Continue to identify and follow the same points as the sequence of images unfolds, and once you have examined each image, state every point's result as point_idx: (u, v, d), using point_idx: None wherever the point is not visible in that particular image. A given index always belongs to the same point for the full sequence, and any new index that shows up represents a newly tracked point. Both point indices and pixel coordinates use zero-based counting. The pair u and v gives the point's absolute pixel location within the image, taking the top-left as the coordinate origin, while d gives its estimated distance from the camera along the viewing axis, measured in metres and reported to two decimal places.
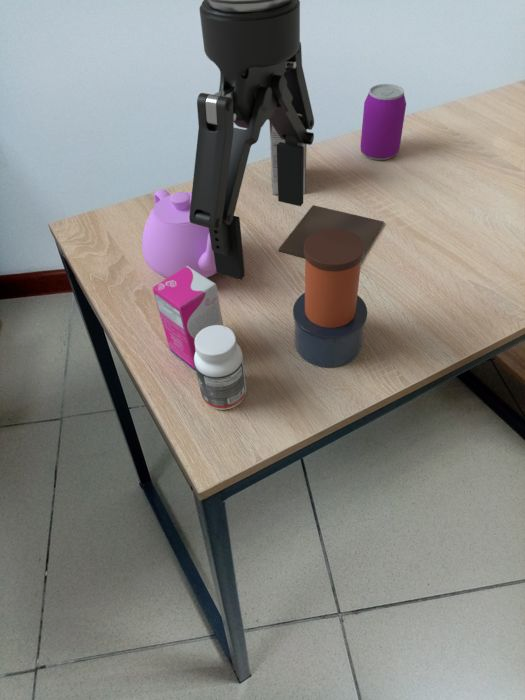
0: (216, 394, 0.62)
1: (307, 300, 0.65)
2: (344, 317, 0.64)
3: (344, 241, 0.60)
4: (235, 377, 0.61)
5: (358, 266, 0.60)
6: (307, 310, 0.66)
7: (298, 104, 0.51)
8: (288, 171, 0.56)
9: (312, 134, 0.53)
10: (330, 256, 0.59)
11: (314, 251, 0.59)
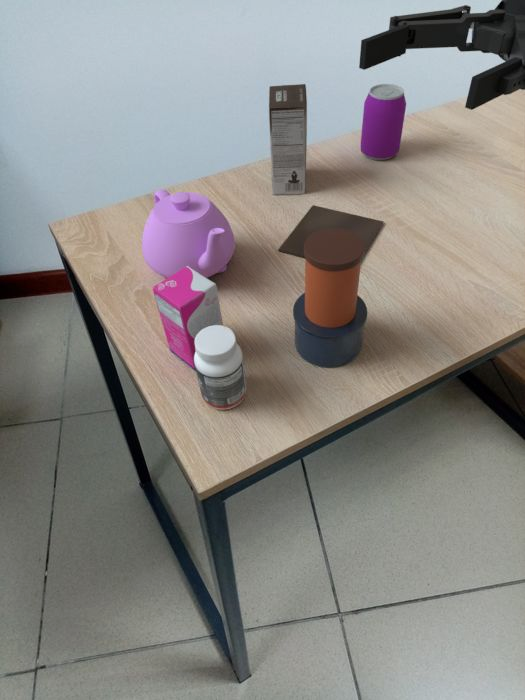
0: (216, 394, 0.62)
1: (307, 300, 0.65)
2: (344, 317, 0.64)
3: (344, 241, 0.60)
4: (235, 377, 0.61)
5: (358, 266, 0.60)
6: (307, 310, 0.66)
7: None
8: None
9: None
10: (330, 256, 0.59)
11: (314, 251, 0.59)
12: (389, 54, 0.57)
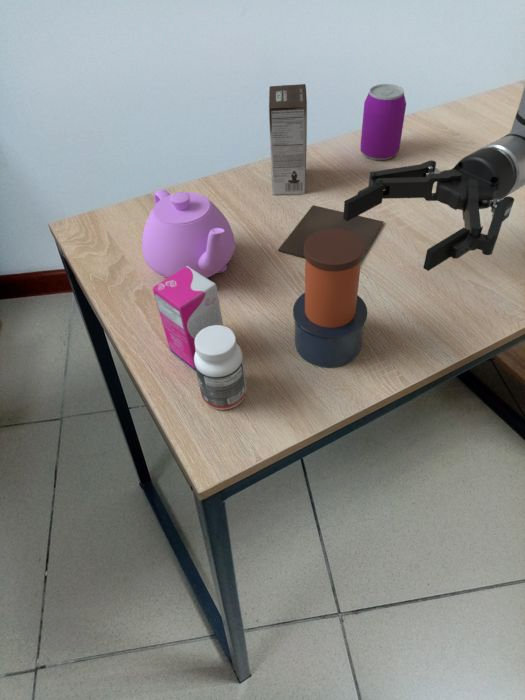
0: (216, 394, 0.62)
1: (307, 300, 0.65)
2: (344, 317, 0.64)
3: (344, 241, 0.60)
4: (235, 377, 0.61)
5: (358, 266, 0.60)
6: (307, 310, 0.66)
7: None
8: None
9: (481, 227, 0.62)
10: (330, 256, 0.59)
11: (314, 251, 0.59)
12: (367, 207, 0.71)
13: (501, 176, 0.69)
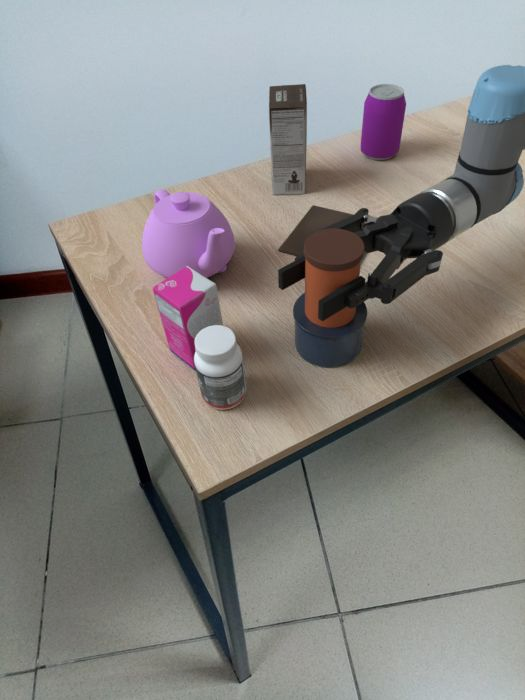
0: (216, 394, 0.62)
1: (307, 300, 0.65)
2: (344, 317, 0.64)
3: (344, 241, 0.60)
4: (235, 377, 0.61)
5: (358, 266, 0.60)
6: (307, 310, 0.66)
7: None
8: None
9: (376, 277, 0.60)
10: (330, 255, 0.59)
11: (314, 251, 0.59)
12: None
13: (438, 224, 0.66)
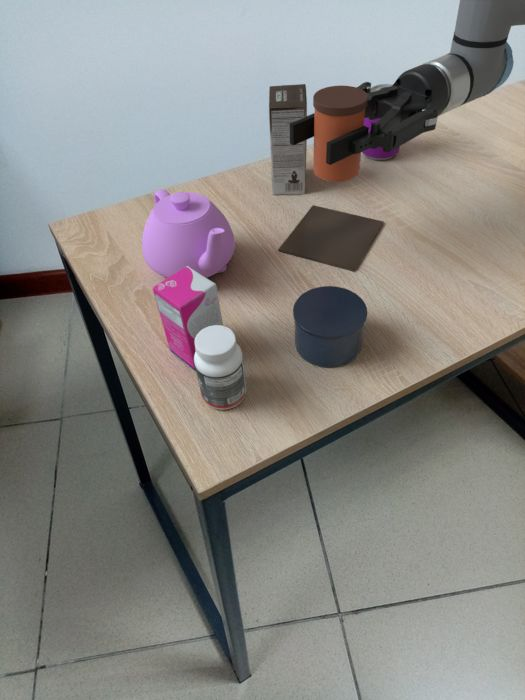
0: (216, 394, 0.62)
1: (316, 155, 0.71)
2: (349, 170, 0.71)
3: (349, 93, 0.67)
4: (235, 377, 0.61)
5: (362, 115, 0.67)
6: (315, 167, 0.72)
7: None
8: None
9: (378, 124, 0.66)
10: (337, 102, 0.65)
11: (323, 100, 0.66)
12: None
13: (434, 89, 0.72)
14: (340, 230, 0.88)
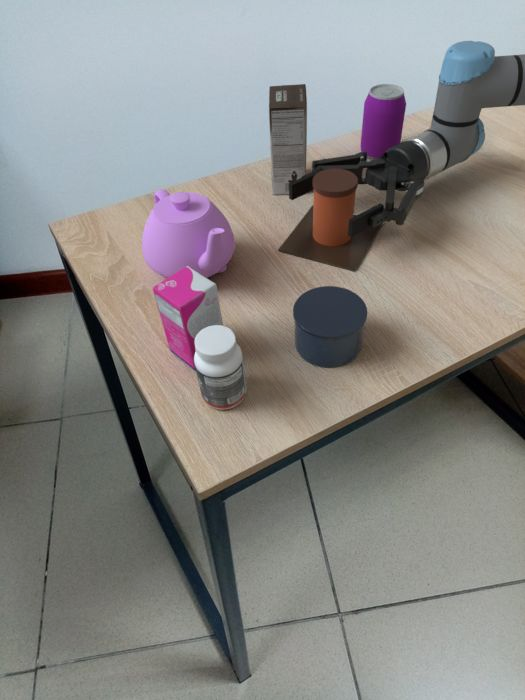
0: (216, 394, 0.62)
1: (315, 225, 0.85)
2: (343, 237, 0.84)
3: (343, 176, 0.81)
4: (235, 377, 0.61)
5: (353, 195, 0.80)
6: (314, 233, 0.86)
7: None
8: None
9: (393, 202, 0.79)
10: (332, 186, 0.79)
11: (320, 183, 0.80)
12: (309, 189, 0.87)
13: (416, 163, 0.85)
14: None
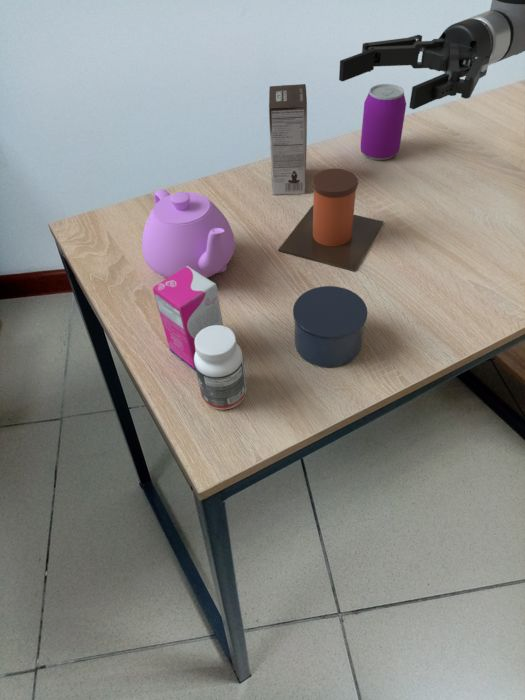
0: (216, 394, 0.62)
1: (315, 225, 0.85)
2: (343, 237, 0.84)
3: (343, 176, 0.81)
4: (235, 377, 0.61)
5: (353, 195, 0.80)
6: (314, 233, 0.86)
7: None
8: None
9: (460, 71, 0.71)
10: (332, 186, 0.79)
11: (320, 183, 0.80)
12: (360, 70, 0.79)
13: (479, 40, 0.78)
14: None
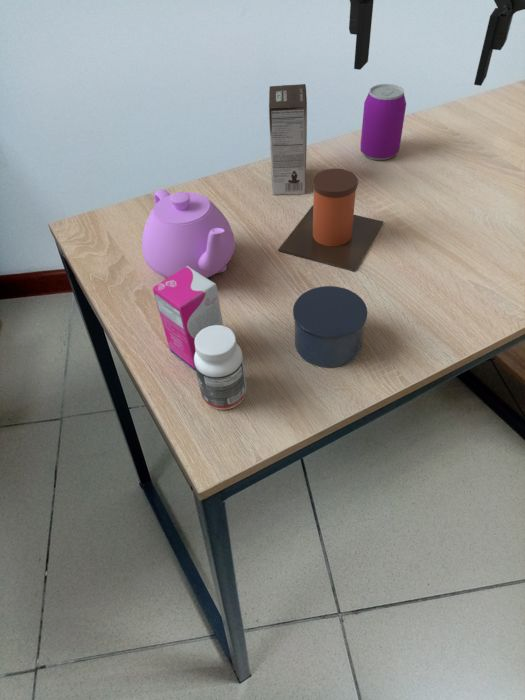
0: (216, 394, 0.62)
1: (315, 225, 0.85)
2: (343, 237, 0.84)
3: (343, 176, 0.81)
4: (235, 377, 0.61)
5: (353, 195, 0.80)
6: (314, 233, 0.86)
7: None
8: None
9: (510, 9, 0.51)
10: (332, 186, 0.79)
11: (320, 183, 0.80)
12: (369, 27, 0.60)
13: None
14: None
